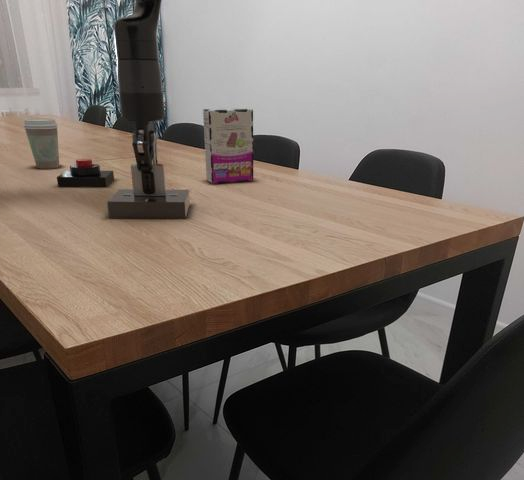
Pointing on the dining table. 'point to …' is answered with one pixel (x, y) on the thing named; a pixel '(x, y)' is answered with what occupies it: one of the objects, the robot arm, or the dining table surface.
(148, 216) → the dark grey base plate
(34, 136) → the coffee cup
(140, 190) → the knob
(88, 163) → the power button
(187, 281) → the dining table surface
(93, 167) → the push button base
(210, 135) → the candy bar box
